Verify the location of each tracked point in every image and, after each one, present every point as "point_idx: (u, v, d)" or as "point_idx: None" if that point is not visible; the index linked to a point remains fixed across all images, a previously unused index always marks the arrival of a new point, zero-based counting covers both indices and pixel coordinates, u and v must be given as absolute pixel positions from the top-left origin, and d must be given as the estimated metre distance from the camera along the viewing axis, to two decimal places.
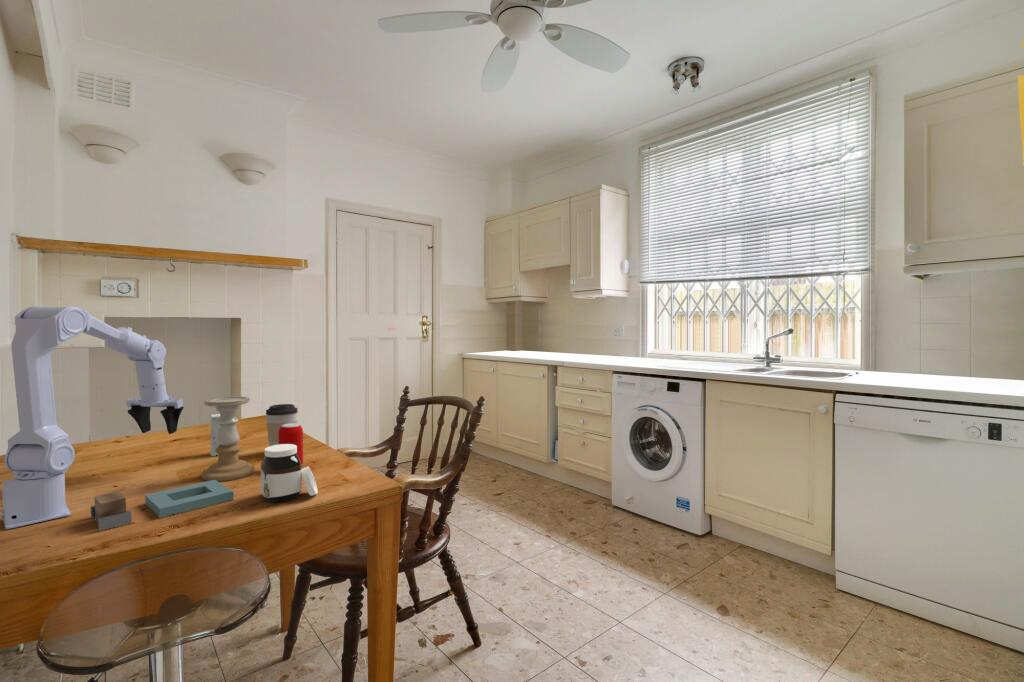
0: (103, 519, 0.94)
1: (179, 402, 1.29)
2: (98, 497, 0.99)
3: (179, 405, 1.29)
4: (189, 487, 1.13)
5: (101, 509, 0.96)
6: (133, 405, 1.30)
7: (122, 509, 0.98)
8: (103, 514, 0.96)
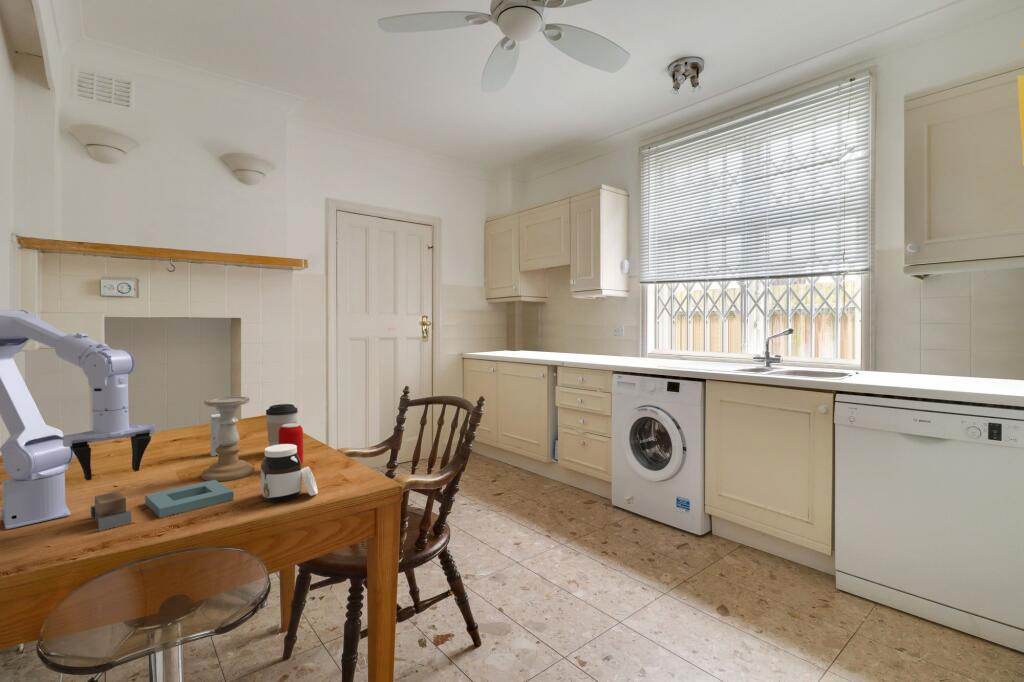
0: (103, 519, 0.94)
1: (63, 438, 0.93)
2: (98, 497, 0.99)
3: (63, 442, 0.93)
4: (189, 487, 1.13)
5: (101, 509, 0.96)
6: None
7: (122, 509, 0.98)
8: (103, 514, 0.96)
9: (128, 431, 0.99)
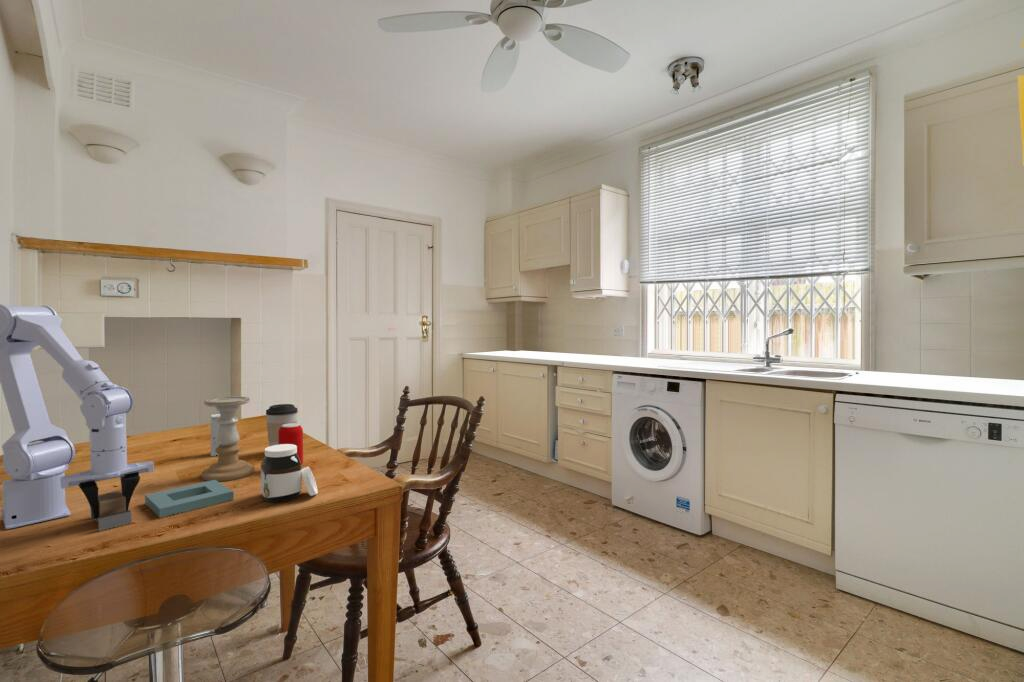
0: (103, 519, 0.94)
1: (61, 480, 0.93)
2: (98, 497, 0.99)
3: (61, 484, 0.94)
4: (189, 487, 1.13)
5: (101, 508, 0.96)
6: None
7: (122, 508, 0.98)
8: (103, 513, 0.96)
9: (126, 471, 0.99)
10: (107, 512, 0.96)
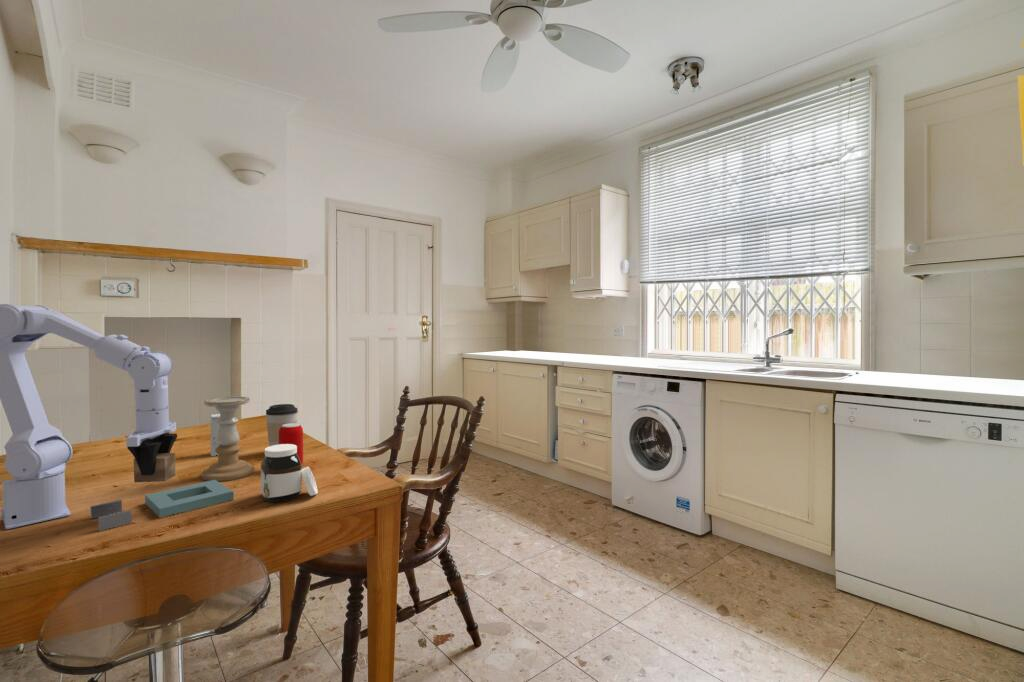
0: (103, 519, 0.94)
1: (130, 439, 0.97)
2: None
3: (129, 443, 0.97)
4: (189, 487, 1.13)
5: (165, 463, 1.03)
6: None
7: (173, 463, 1.06)
8: (166, 468, 1.03)
9: (171, 428, 1.07)
10: (167, 466, 1.04)
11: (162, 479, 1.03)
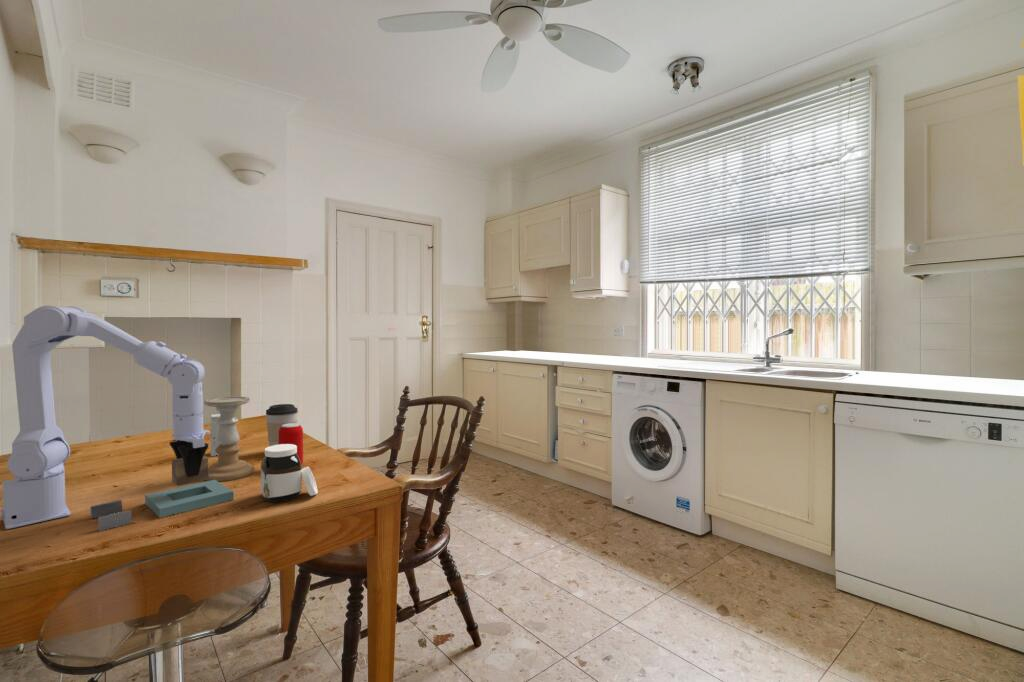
0: (103, 519, 0.94)
1: (198, 441, 1.04)
2: None
3: (197, 444, 1.04)
4: (189, 487, 1.13)
5: None
6: None
7: None
8: (207, 467, 1.11)
9: None
10: None
11: (205, 478, 1.10)
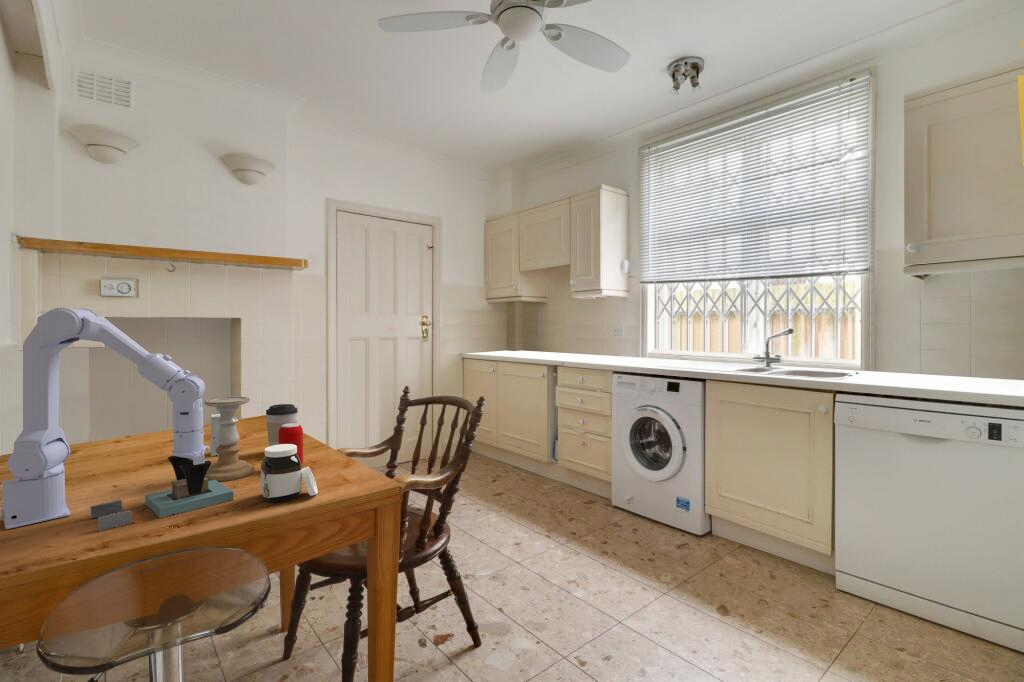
0: (103, 519, 0.94)
1: (198, 457, 1.04)
2: (185, 483, 1.07)
3: (197, 461, 1.04)
4: None
5: None
6: None
7: None
8: (207, 488, 1.11)
9: None
10: None
11: None
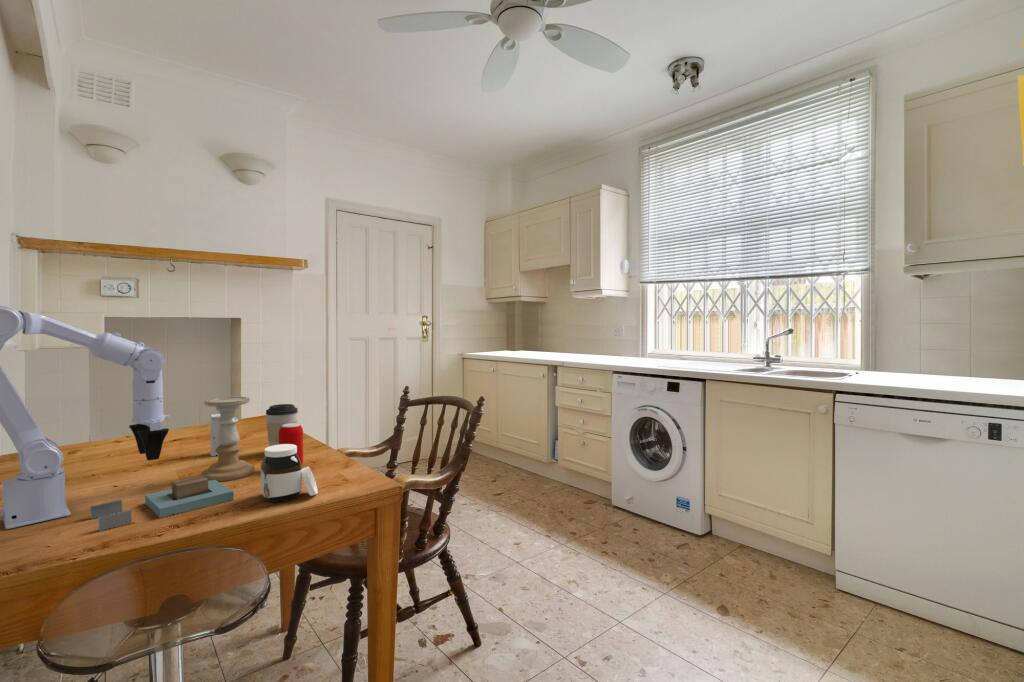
0: (103, 519, 0.94)
1: (154, 424, 1.09)
2: (185, 483, 1.07)
3: (154, 427, 1.09)
4: None
5: None
6: None
7: None
8: (207, 488, 1.11)
9: None
10: None
11: None
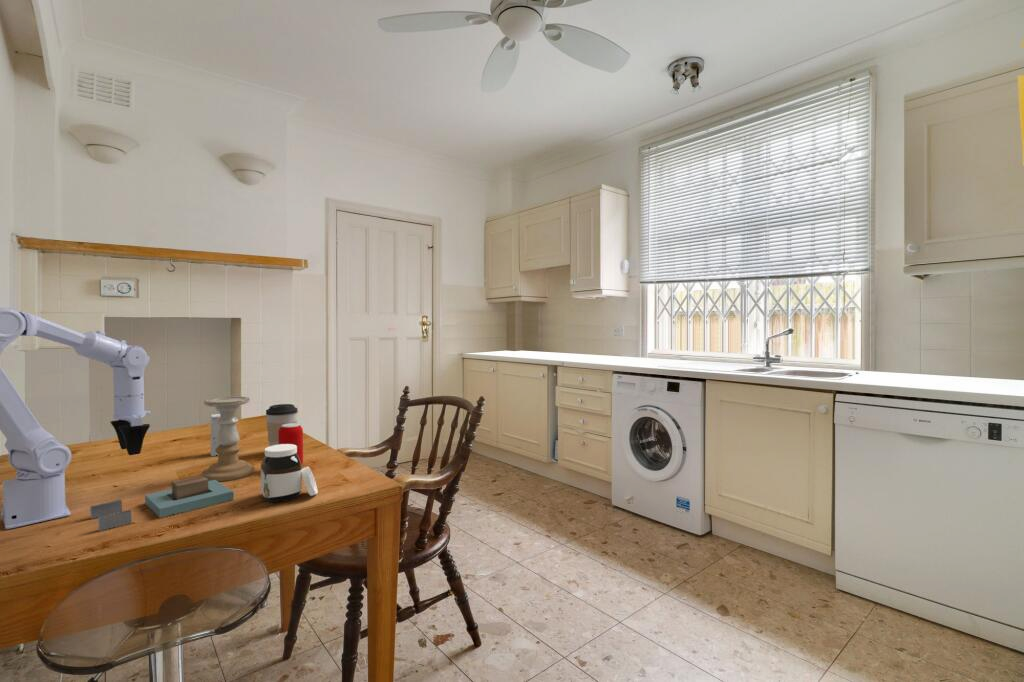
0: (103, 519, 0.94)
1: (135, 419, 1.11)
2: (185, 483, 1.07)
3: (135, 423, 1.11)
4: None
5: None
6: None
7: None
8: (207, 488, 1.11)
9: None
10: None
11: None
